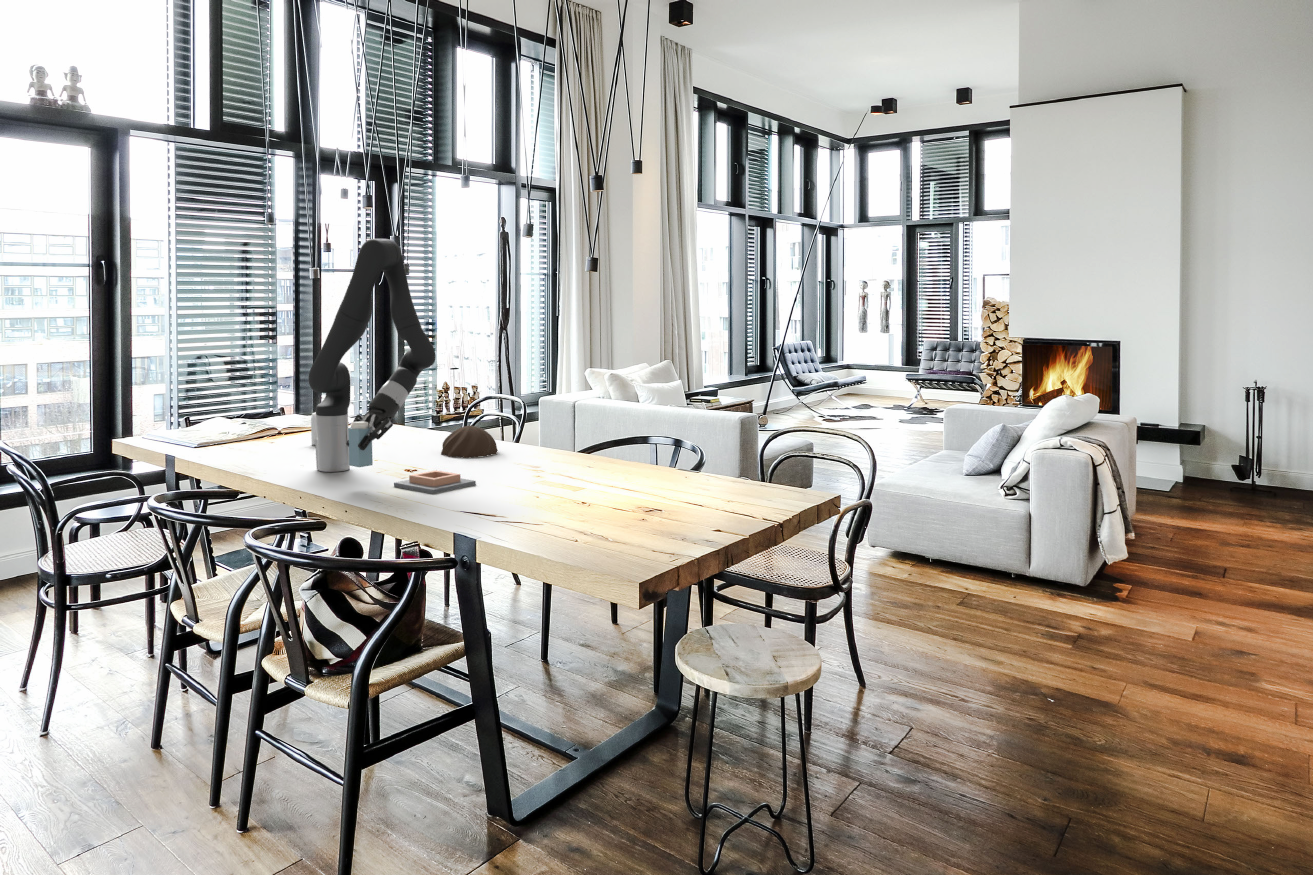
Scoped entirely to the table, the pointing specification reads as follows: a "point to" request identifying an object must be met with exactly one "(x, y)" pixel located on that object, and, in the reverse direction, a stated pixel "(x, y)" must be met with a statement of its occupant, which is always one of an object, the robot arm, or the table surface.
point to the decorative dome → (469, 443)
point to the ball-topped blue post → (355, 453)
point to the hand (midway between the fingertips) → (354, 447)
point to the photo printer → (313, 428)
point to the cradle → (434, 482)
